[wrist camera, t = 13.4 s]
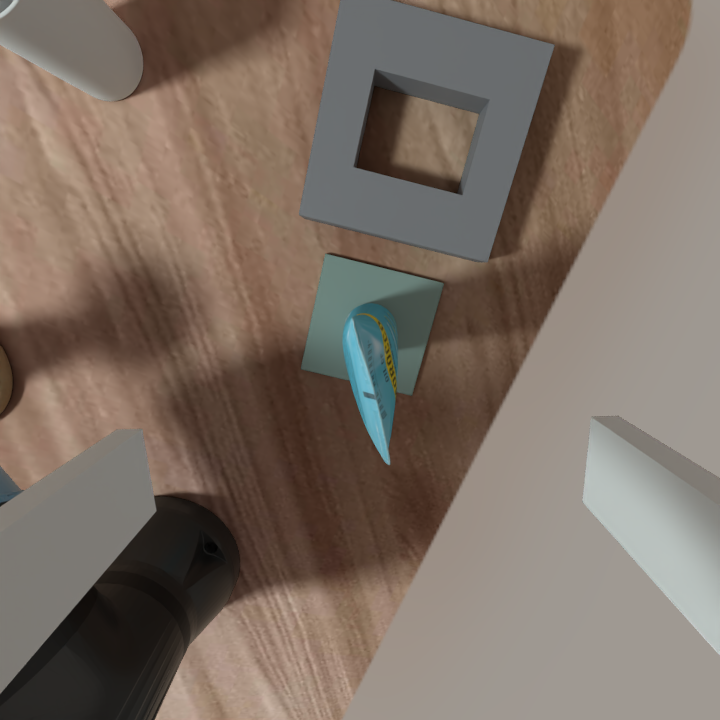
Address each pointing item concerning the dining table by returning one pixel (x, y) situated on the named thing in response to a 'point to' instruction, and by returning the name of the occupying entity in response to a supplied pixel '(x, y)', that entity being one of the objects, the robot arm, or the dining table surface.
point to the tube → (373, 369)
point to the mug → (75, 43)
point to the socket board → (431, 82)
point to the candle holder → (5, 380)
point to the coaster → (361, 286)
